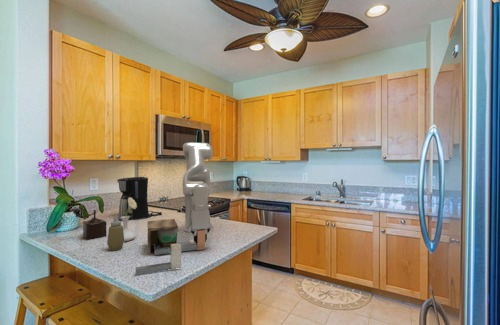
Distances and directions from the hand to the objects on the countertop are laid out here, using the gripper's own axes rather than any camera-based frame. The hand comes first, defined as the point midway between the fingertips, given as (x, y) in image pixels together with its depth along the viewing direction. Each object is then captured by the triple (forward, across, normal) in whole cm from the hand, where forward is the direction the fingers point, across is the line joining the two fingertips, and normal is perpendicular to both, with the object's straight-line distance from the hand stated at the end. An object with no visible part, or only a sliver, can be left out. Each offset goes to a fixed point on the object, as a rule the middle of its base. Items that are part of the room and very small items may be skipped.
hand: (200, 241), depth 128 cm
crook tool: (+3, +10, -3) cm, 11 cm away
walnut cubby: (+4, +19, -10) cm, 22 cm away
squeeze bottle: (+4, +42, -18) cm, 45 cm away
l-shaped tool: (+4, +21, +18) cm, 28 cm away
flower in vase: (+4, +38, -33) cm, 50 cm away
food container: (+4, +16, -10) cm, 19 cm away
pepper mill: (+5, +58, -46) cm, 74 cm away
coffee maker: (+5, +32, -92) cm, 98 cm away
